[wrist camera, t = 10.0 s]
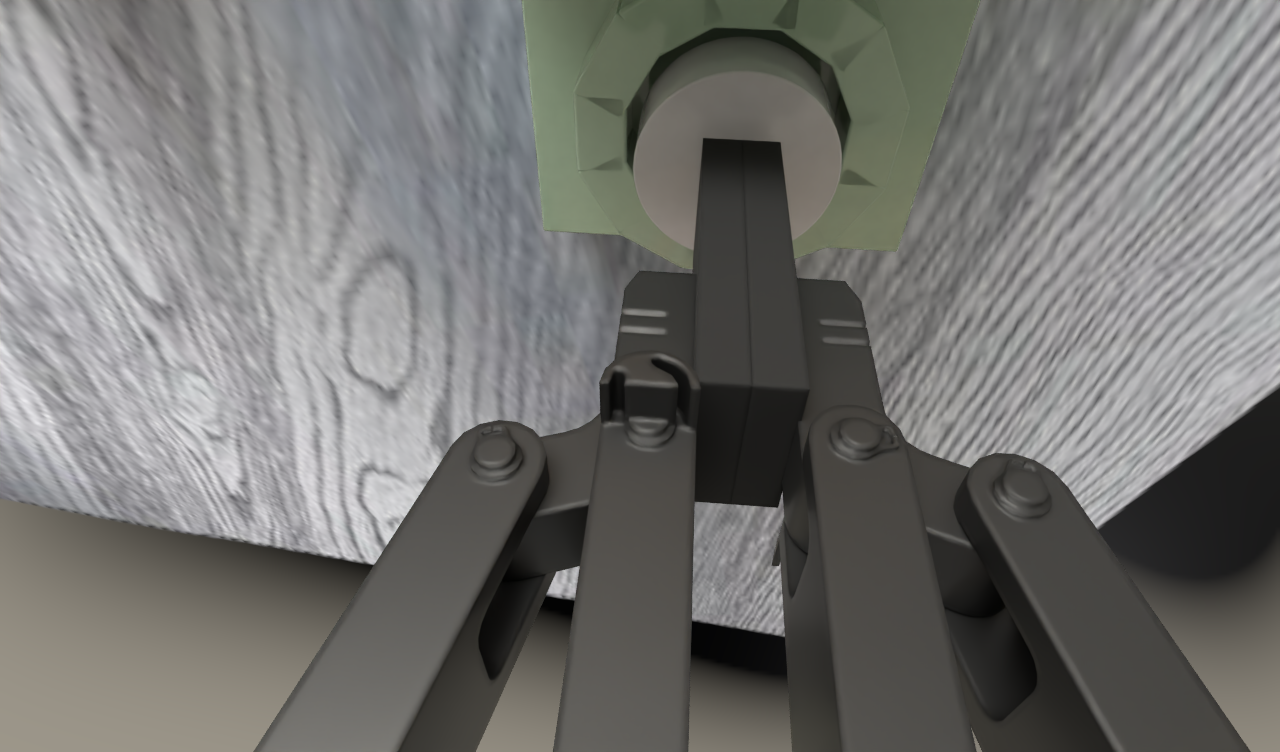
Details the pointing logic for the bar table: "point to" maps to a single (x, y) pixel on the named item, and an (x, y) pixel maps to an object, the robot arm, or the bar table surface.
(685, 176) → the flush button
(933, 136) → the green push button box
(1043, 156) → the bar table surface
